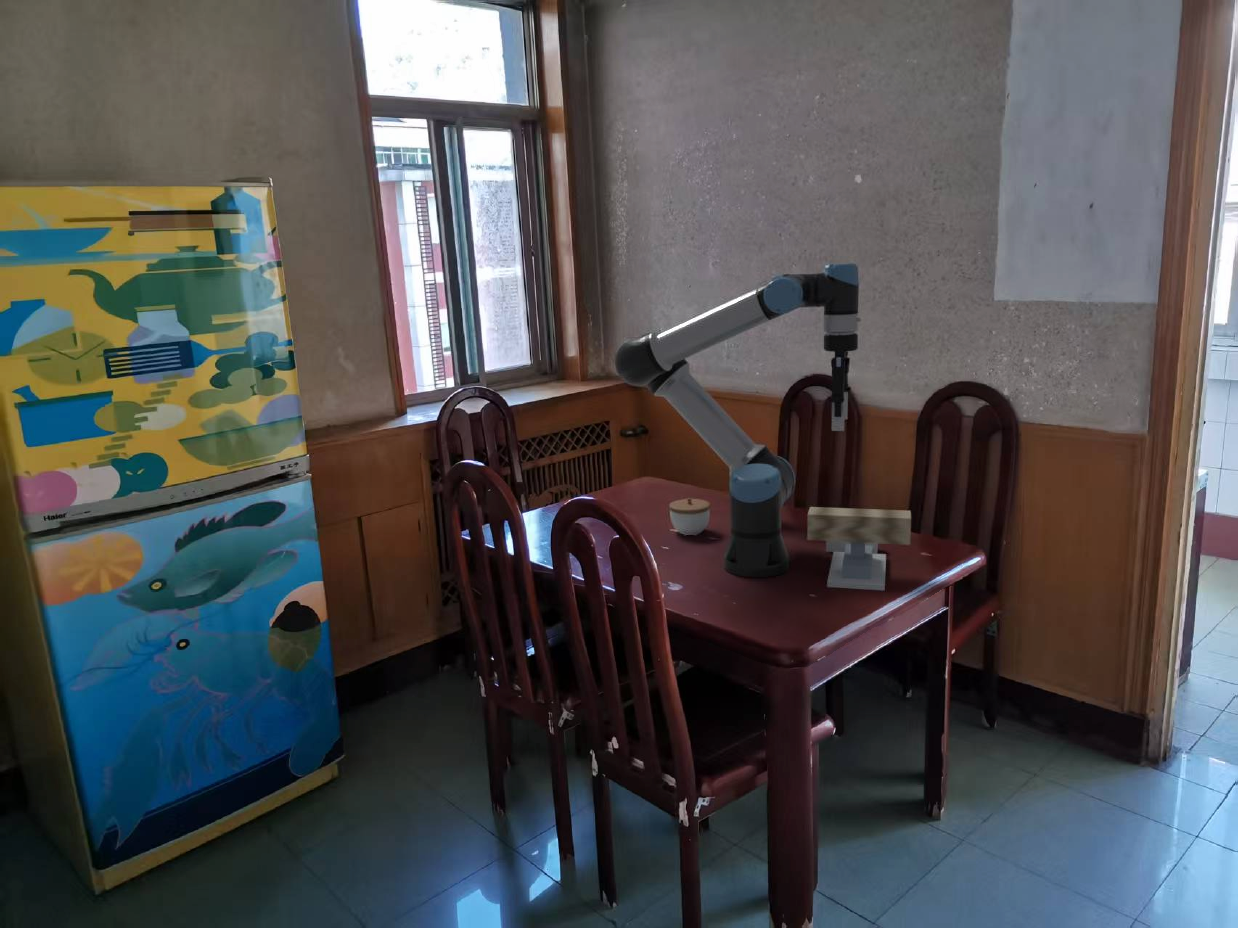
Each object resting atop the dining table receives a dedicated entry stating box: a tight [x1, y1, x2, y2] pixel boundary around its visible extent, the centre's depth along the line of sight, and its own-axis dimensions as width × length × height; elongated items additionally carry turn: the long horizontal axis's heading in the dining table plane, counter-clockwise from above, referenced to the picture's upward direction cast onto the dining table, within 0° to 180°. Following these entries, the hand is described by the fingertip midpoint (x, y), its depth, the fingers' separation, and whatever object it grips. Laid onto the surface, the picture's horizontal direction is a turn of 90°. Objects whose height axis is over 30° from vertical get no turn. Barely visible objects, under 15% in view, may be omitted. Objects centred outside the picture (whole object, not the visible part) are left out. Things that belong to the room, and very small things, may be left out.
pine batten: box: [806, 506, 912, 546], centre depth 197 cm, size 22×6×6 cm, turn 73°
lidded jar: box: [668, 497, 711, 536], centre depth 233 cm, size 11×11×9 cm
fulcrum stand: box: [826, 542, 887, 592], centre depth 198 cm, size 12×20×8 cm, turn 163°
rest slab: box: [825, 541, 879, 554], centre depth 213 cm, size 12×4×3 cm, turn 73°
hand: (839, 424), depth 204 cm, fingers open, 13 cm apart
